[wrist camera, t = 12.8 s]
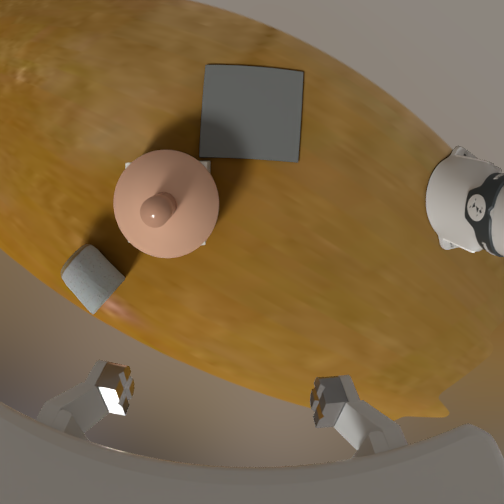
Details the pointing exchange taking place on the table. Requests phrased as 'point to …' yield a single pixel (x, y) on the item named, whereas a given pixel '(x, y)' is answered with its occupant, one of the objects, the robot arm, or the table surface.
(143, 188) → the lid
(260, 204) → the table surface
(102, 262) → the ceramic mug
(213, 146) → the mat
